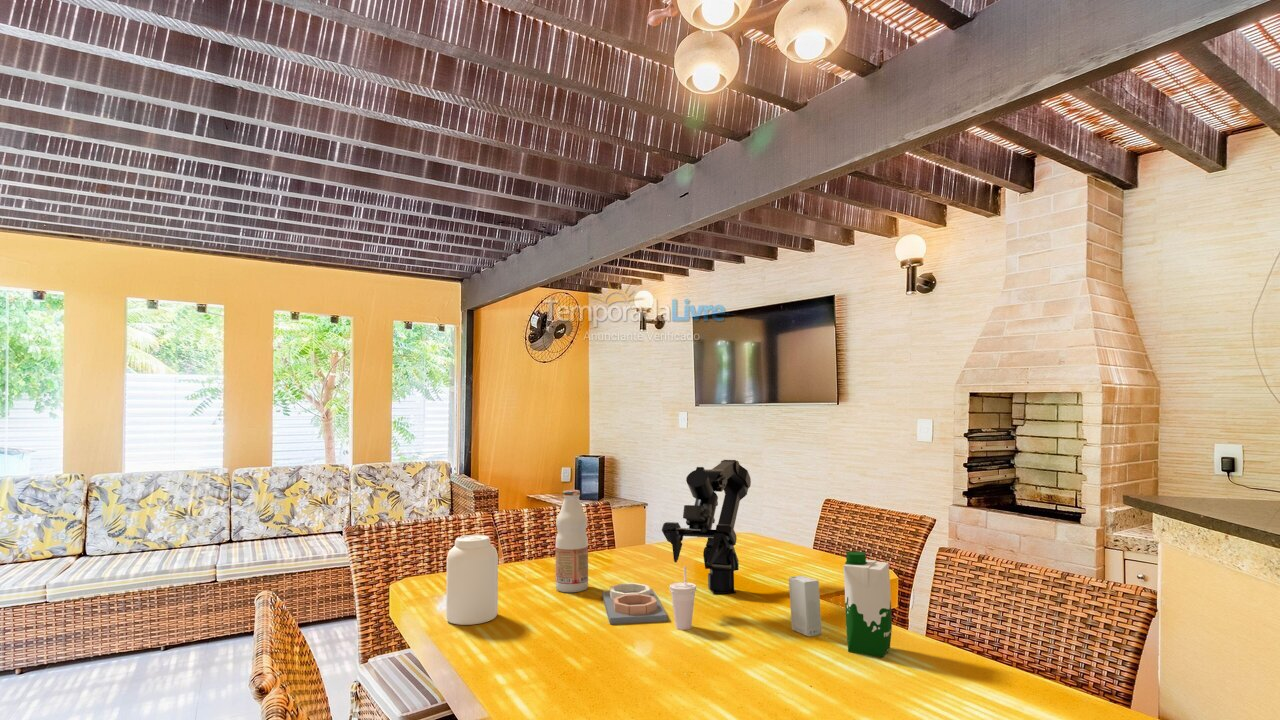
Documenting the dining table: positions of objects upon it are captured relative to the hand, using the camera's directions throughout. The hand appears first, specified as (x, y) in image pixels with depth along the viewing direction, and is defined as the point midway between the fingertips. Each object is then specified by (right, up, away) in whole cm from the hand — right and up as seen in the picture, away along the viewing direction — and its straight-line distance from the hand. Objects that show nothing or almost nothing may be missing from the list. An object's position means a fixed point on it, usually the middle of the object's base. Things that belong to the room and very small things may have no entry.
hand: (692, 562), depth 166 cm
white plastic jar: (-55, -14, 0) cm, 57 cm away
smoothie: (-3, -13, -9) cm, 16 cm away
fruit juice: (-33, -16, +26) cm, 45 cm away
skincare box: (+25, -12, -13) cm, 31 cm away
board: (-15, -14, +7) cm, 21 cm away
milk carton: (+36, -11, -25) cm, 45 cm away
